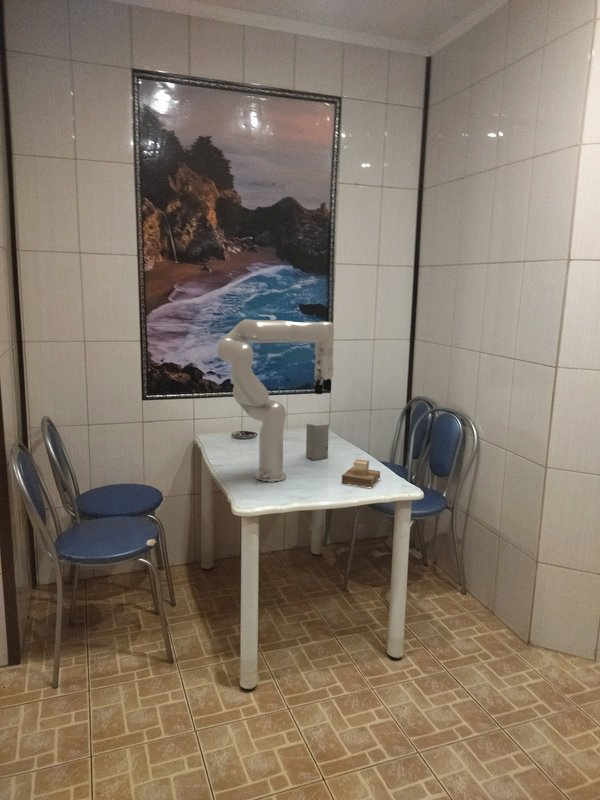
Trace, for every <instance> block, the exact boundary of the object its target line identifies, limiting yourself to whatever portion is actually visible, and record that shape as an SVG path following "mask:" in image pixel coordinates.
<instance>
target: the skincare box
mask: <svg viewBox="0 0 600 800" xmlns="http://www.w3.org/2000/svg"><path fill="white" fill-rule="evenodd" d="M329 430H330V429H329V423H325V422H322V421H319V422H307V423H306V438H305V440H306V444H305V445H306V447H305V457H306V458H307V459H308V458H309V459H311V460H313V461H318V460H323V459H328V457H329Z"/></svg>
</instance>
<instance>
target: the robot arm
mask: <svg viewBox="0 0 600 800" xmlns="http://www.w3.org/2000/svg"><path fill="white" fill-rule="evenodd" d="M334 329H335V325H334V322H331V321H318V322H316V321H303V322H297V321H291V320H281V319H279V320H265V319H264V320H263V319H259V320H258V319H251V318H250V319H249V318H248V319H243V320H241V321H239V323H237V324H236V325H235V326H234V327H233V328H232V329H231V330H230V331H229V332H228V333H227V334H226V335H225V336H224V338H223V339H221V341H220V342H219V344H218V345H217V351H216V352H217V357H219V358H220V360H222V361H224V362H227V363H231V367H230V379H231V382H232V384H233V388H232V395H233V398H234V400H235V402H237V404H238V405H239V406H240V407H241V408H242V410H243V411H244V412H245V414H247V415H248V416H249V417H250V418H251V419H253V420H255V421H258V422H261V423H262V425H261V428H260V431H259V434H258V435H259V441H258V442H259V444H258V445H259V447H258V449H259V450H258V456H259V457H258V458H259V459H258V471H257V472H255V475H254V477H256V478H255V479H256V480H258V479H259V480H258V481H260V480H262V481H261V482H265V481H268V482H267V483H276V482H275V481H278V482H282V481H284V480H285V479H286V478H287V473H286V472H285V471H283V467H284V463H283V462H284V430H285V429H284V428H285V427H284V426H285V422H286V417H287V411H286V408H285V406H284V405H283V404H282V403H281V402H279V401H278V400H273V399H270V398H269V397H270V395H269V391H268V389H267V388H266V387H265V386H264V384H263V383H262V382H261V381H260V379H259V378H258V377H257V376H256V375H255V373H254V372H253V370H252V369H253V368H252V363H253V359H254V350H253V348H252V346H251V345H250V344H249V343H248V342H250V343H251V342H252V343H255V344H256V343H257V344H262V343H263V344H264V343H265V344H268V343H270V344H271V343H288V344H289V343H314V347H315V348H314V356H315V363H314V375H313V378H314V394H315V395H323V391H328V392H329V391H331V390H332V378H333V377H334V339H335V338H334V336H335V335H334V332H335V330H334ZM281 480H282V481H281Z"/></svg>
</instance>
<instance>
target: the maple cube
mask: <svg viewBox="0 0 600 800" xmlns="http://www.w3.org/2000/svg"><path fill="white" fill-rule="evenodd" d="M352 467H353V474H355V475H362V476H366V475H367V474H368V472H369V470H370V469H369V468H370V459H361V458H356V459H355V460H354V461H353V466H352Z"/></svg>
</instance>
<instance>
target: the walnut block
mask: <svg viewBox="0 0 600 800" xmlns="http://www.w3.org/2000/svg"><path fill="white" fill-rule="evenodd" d="M379 478H380V479H381V471H379V470H374V469H369V472H368V474H367V475H366V476H362V475H355V474H353V466H352V467H350V468H349V469H348V470H347V471H346V472H344V473H343V474H341V484H342V483H343V484H342V485H345V484H351V485H357V486H363V487H364V486H365V487H372V486H373V485H374V484H375V483H376V482H377V481H378V479H379ZM378 482H379V481H378ZM378 482H377V483H378ZM377 483H376V484H377ZM376 484H375V485H376ZM351 485H350V486H351ZM375 485H374V486H375ZM357 486H356V487H357ZM374 486H373V487H374ZM363 487H362V488H363ZM373 487H372V488H373Z"/></svg>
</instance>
